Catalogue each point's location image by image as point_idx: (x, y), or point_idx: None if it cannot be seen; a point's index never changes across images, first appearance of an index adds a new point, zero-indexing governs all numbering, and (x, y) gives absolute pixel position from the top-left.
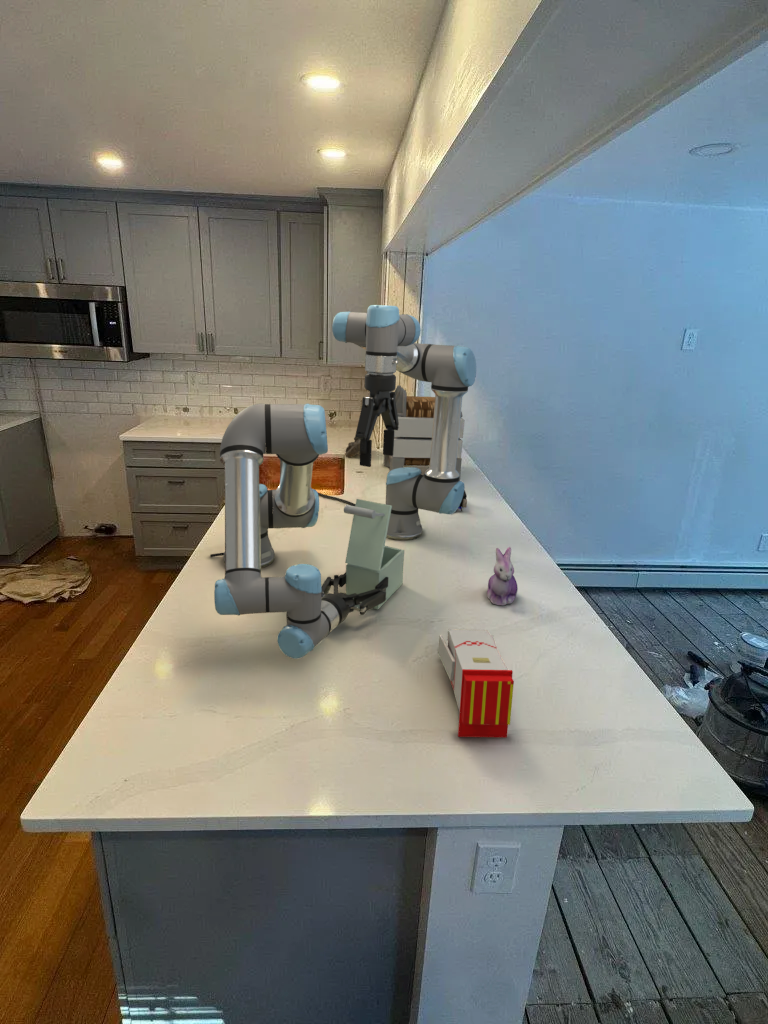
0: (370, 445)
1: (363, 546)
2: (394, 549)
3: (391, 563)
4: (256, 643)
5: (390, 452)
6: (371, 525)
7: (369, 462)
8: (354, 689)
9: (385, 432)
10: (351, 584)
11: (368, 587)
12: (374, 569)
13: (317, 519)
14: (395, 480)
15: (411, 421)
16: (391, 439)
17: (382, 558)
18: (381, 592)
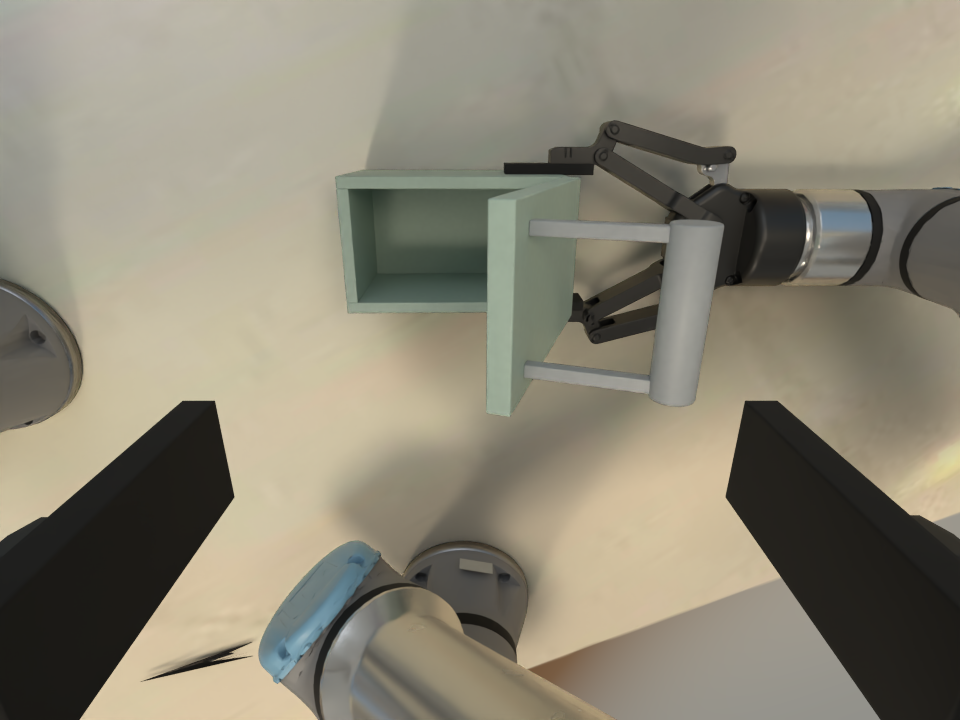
0: (956, 565)
1: (561, 271)
2: (350, 216)
3: (461, 176)
4: (820, 359)
5: (203, 437)
6: (543, 272)
7: (803, 426)
8: (952, 37)
9: (57, 712)
10: None
11: None
12: (579, 195)
13: (354, 546)
14: None
15: None
16: (99, 539)
17: (364, 257)
18: (621, 135)
